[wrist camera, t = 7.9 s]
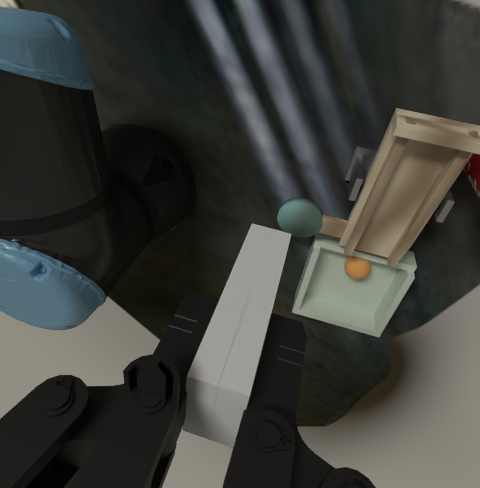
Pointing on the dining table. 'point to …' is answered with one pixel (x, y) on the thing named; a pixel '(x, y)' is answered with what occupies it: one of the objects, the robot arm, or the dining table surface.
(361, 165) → the stand
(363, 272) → the ball
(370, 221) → the lever
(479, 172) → the soda can
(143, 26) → the dining table surface
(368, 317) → the tray
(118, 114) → the dining table surface
